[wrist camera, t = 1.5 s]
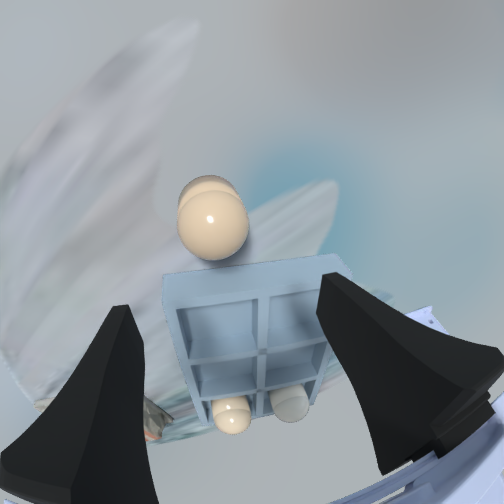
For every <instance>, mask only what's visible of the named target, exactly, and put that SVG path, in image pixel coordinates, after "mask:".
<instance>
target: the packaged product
mask: <svg viewBox="0 0 504 504" xmlns="http://www.w3.org/2000/svg"><path fill="white" fill-rule="evenodd" d="M54 398H55V397H52V398H47V399H41V400H37V401H35V404H34V406H33V407H34V408H35V409H37V410H38V411H40V412H42V413H43V412H44V410H45V409H46V408H47V407H48V406H49V404H50V403H51V402H52V401H53V400H54ZM143 420H144V433H145V441H151V440H157V439H160V438H161V437H162V431H163V429H164V426H165V424H166V423H172V422H173V419H172V417H171V416H169V415H168V414H167V413H166V412H164V411H163V410H162V409H160V408H159V407H158V406H157V405H155V404H154V403H153V402H151V401H150V400H149V399H148V398H146V397H145V396H144V408H143Z"/></svg>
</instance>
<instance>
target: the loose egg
mask: <svg viewBox="0 0 504 504" xmlns="http://www.w3.org/2000/svg"><path fill="white" fill-rule="evenodd" d="M177 216H178V217H177V230H178V235H179V237H180V240H181V242H182V244H183V245H184V246H185V248H186V249H187V250H188V251H189V252H190V253H192V254H193V255H195V256H196V257H199V258H201V259H204V260H212V261H213V260H221V259H225V258H227V257H229V256H231V255H233V254H234V253H236V252H237V251H238V250H239V249H240V248H241V246H242V245H243V243H244V242H245V240H246V237H247V235H248V230H249V218H248V214H247V211H246V209H245V207H244V205H243V203H242V201H241V199H240V197H239V195H238V193H237V191H236V189H235V188H234V186H233V185H232V184H231V183H230V182H229V181H227V180H226V179H224V178H222V177H219V176H215V175H205V176H201V177H198V178H195V179H194V180H192V181H191V182H189V183H188V184H187V185H186V186H185V187H184V189H183V190H182V192H181V194H180V197H179V201H178V215H177Z"/></svg>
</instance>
